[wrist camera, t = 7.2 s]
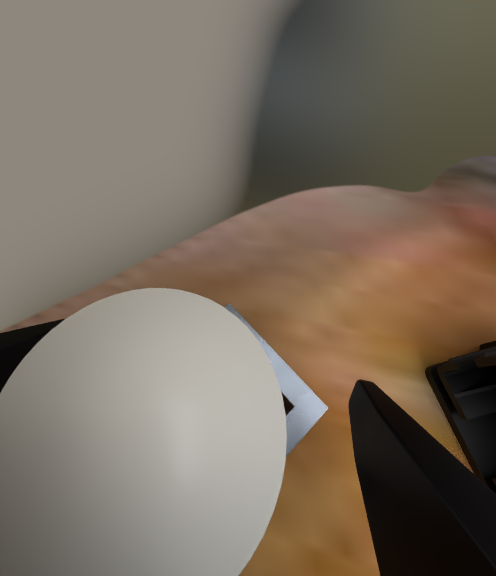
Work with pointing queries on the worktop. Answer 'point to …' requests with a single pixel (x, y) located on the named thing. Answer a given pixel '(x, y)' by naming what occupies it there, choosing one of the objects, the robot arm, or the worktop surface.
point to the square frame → (291, 394)
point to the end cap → (471, 406)
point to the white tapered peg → (140, 442)
